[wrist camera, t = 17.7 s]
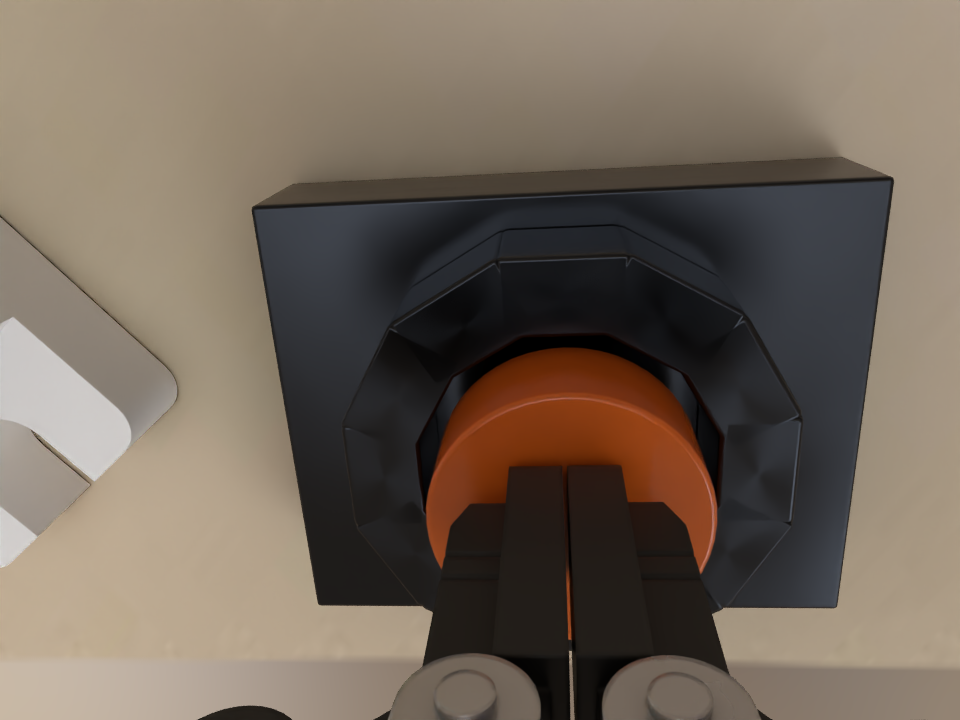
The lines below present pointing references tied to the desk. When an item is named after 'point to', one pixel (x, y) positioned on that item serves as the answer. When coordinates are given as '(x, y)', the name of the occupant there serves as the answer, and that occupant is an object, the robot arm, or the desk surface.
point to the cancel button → (571, 440)
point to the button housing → (580, 345)
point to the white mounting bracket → (62, 392)
